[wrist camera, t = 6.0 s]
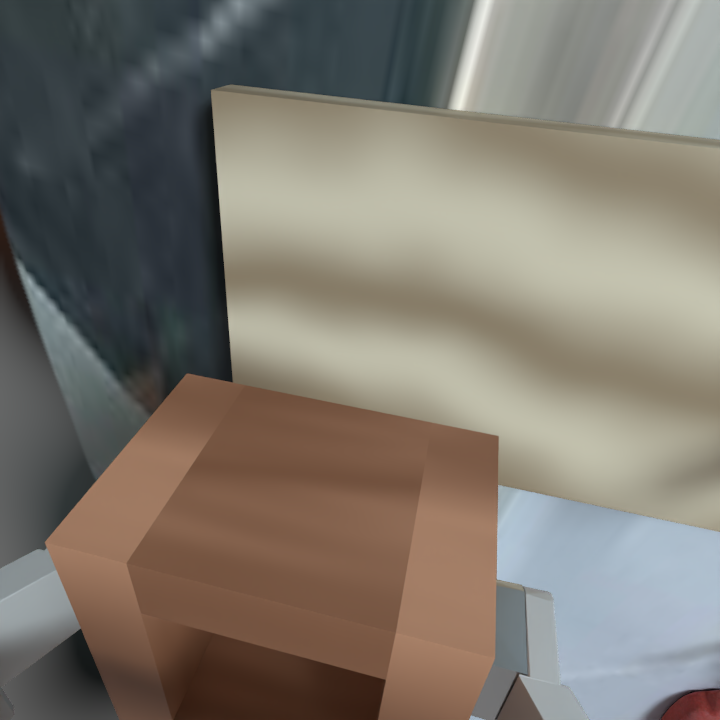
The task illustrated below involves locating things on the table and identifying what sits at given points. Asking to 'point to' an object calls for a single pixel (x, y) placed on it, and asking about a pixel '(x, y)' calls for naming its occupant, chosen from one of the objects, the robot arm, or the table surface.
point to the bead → (287, 562)
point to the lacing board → (485, 284)
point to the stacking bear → (696, 707)
